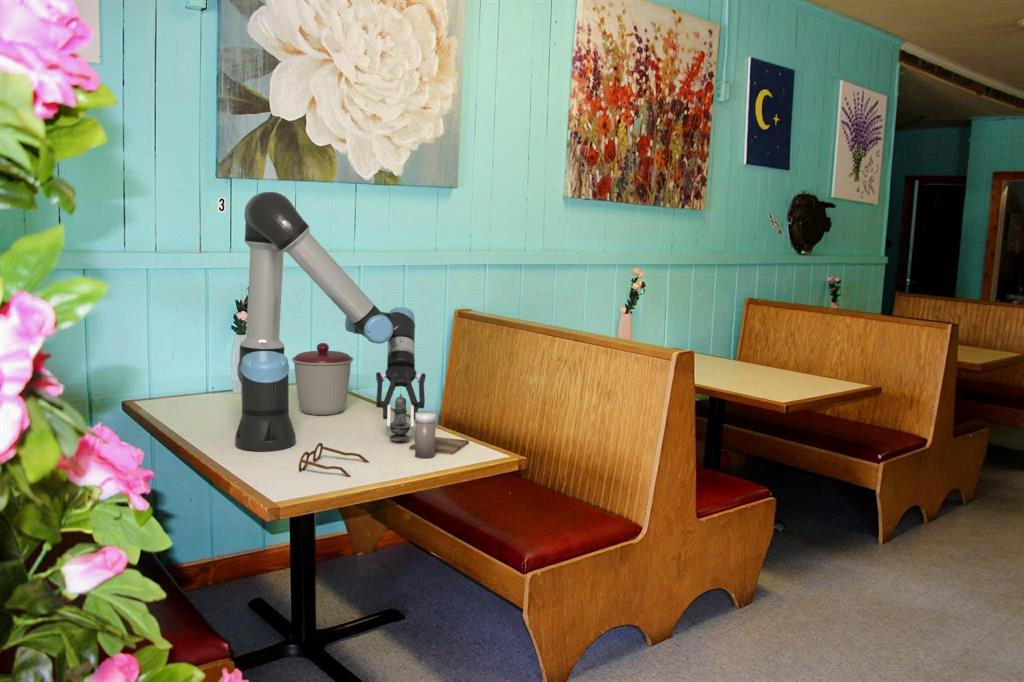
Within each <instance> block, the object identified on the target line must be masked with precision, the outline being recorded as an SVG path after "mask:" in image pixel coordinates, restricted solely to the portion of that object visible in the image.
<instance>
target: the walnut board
mask: <svg viewBox="0 0 1024 682" xmlns="http://www.w3.org/2000/svg"><path fill="white" fill-rule="evenodd" d="M469 443H470V440H467V439H457V438H451V437H439V436H435V454H437V453H438V454H444V455H454V454H456V453H457V452H459V451H460V450H461V449H463V448H465V446H467V445H469ZM408 446H409V445H408ZM408 448H409V449H408V450H412V451H415V442H414V443H413V444H411V445H410V446H409V447H408Z"/></svg>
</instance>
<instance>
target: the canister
mask: <svg viewBox="0 0 1024 682" xmlns="http://www.w3.org/2000/svg"><path fill="white" fill-rule="evenodd" d="M329 347H330V346H329V345H328V343H325V342H320V343H318V344H317V345H316V349H317V350H310V351H309V350H308V351H304V352H303V351H302V352H300V353H297V354H296V355H295V356H293V357H292V358H291V362H293V365H294V374H295V382H296V385H295V386H296V392H297V397H298V398H297V399H298V406H299V408H300V409H301V411H302V412H304V413H305V414H308V415H312V416H331V415H337V414H338V413H339V414H340V413H341V412H343V410H344V409H345V407H346V405H347V399H348V394H349V393H348V392H349V385H350V383H349V382H350V375H351V368H352V362H353V361H354V357H352V356H350V355H349V354H348V353H345V352H341V351H337V350H329V349H330V348H329Z"/></svg>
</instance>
